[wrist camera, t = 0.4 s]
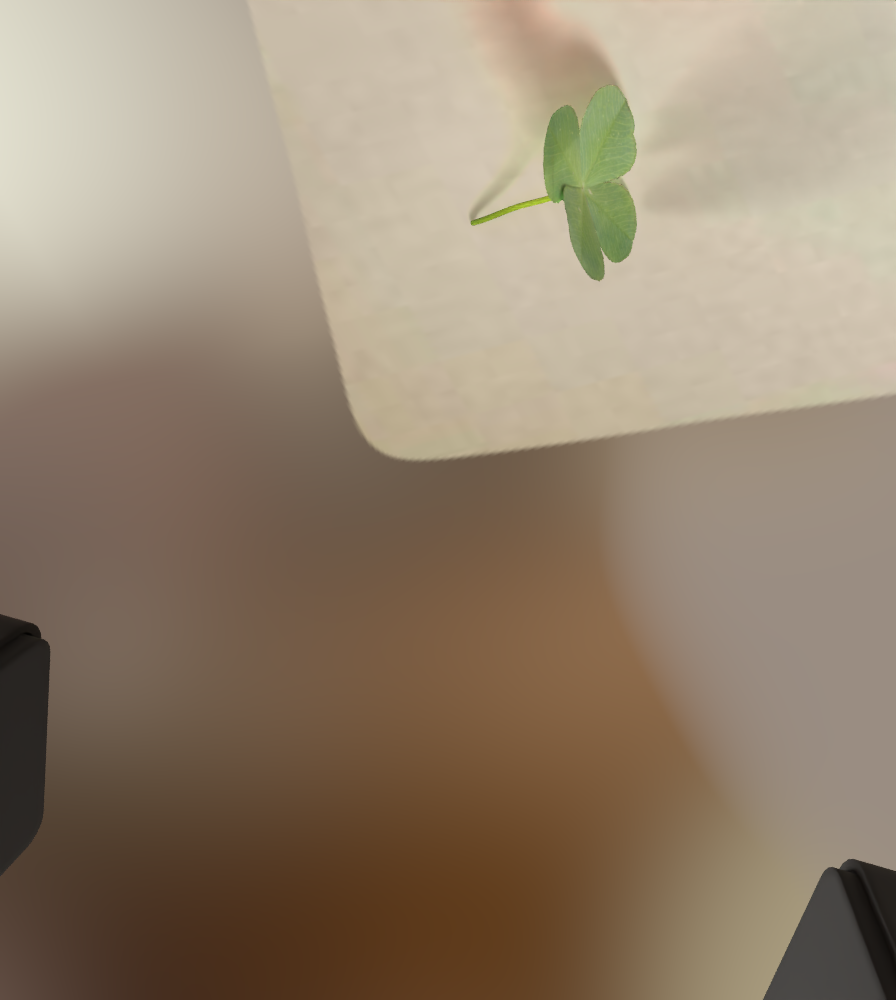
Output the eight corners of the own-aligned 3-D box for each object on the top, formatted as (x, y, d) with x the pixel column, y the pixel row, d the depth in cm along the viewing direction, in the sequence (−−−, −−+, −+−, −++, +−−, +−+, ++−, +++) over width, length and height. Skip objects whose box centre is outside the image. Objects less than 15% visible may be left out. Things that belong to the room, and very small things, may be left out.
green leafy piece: (545, 194, 39) (671, 157, 34) (500, 339, 36) (628, 320, 32) (451, 83, 34) (584, 22, 29) (392, 242, 32) (525, 203, 27)
